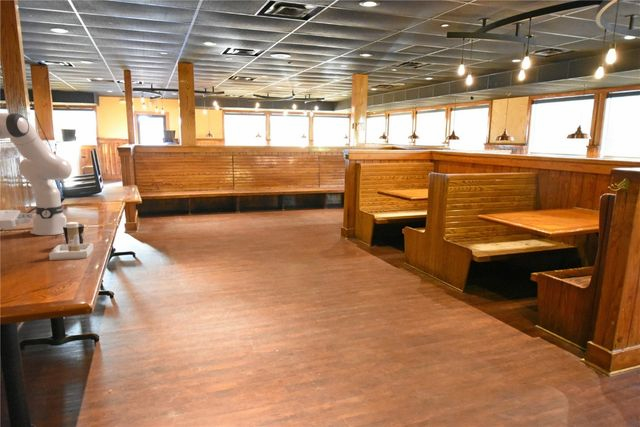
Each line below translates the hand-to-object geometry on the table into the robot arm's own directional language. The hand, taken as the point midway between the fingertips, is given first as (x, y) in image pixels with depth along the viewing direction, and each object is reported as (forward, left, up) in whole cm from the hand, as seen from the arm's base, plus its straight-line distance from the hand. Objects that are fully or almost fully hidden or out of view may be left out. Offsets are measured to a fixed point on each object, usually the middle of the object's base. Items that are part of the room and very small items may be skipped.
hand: (31, 217), depth 180 cm
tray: (0, +14, -17) cm, 22 cm away
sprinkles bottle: (-1, +15, -16) cm, 22 cm away
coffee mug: (-16, +13, -17) cm, 27 cm away
